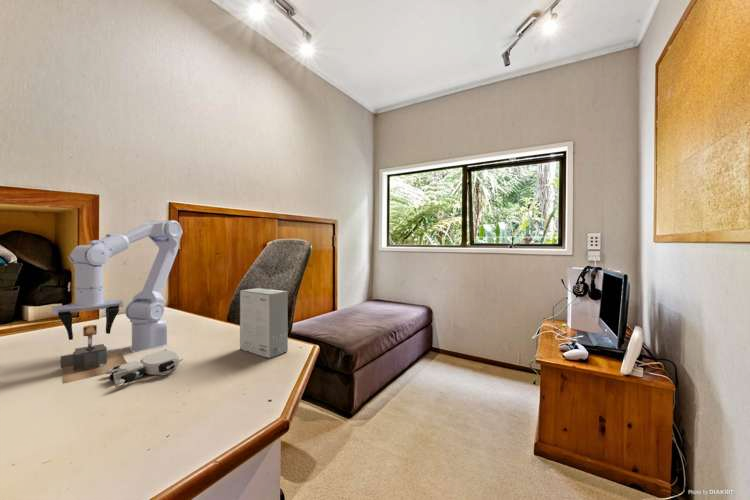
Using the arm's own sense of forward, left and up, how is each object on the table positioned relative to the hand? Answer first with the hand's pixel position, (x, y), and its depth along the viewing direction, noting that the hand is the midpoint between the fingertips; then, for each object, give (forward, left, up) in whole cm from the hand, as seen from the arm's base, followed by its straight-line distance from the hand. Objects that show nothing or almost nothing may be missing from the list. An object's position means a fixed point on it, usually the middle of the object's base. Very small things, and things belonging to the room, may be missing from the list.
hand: (90, 335), depth 86 cm
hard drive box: (-41, +21, -9) cm, 47 cm away
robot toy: (-10, +17, -9) cm, 22 cm away
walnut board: (-1, +1, -9) cm, 9 cm away
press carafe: (+1, 0, -8) cm, 8 cm away
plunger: (0, 0, -4) cm, 4 cm away
